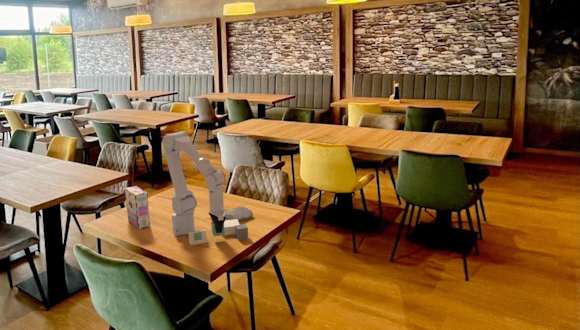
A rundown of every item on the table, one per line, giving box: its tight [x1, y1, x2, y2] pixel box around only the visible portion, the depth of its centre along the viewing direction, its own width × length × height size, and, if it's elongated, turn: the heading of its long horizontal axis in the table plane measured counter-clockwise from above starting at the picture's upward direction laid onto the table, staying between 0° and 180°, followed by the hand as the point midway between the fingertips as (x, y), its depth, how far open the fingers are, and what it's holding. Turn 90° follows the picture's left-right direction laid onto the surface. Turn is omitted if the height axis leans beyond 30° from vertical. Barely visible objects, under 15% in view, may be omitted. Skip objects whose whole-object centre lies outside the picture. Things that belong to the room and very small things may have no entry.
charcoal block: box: [234, 223, 249, 241], centre depth 200 cm, size 4×4×5 cm
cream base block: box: [221, 219, 241, 237], centre depth 207 cm, size 8×8×4 cm
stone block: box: [223, 205, 254, 223], centre depth 222 cm, size 12×5×10 cm
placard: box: [188, 229, 208, 246], centre depth 195 cm, size 7×3×5 cm, turn 111°
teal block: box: [210, 220, 225, 237], centre depth 196 cm, size 4×4×5 cm
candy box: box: [124, 185, 151, 230], centre depth 214 cm, size 14×6×16 cm, turn 37°
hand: (217, 230), depth 197 cm, fingers closed on teal block, 4 cm apart
